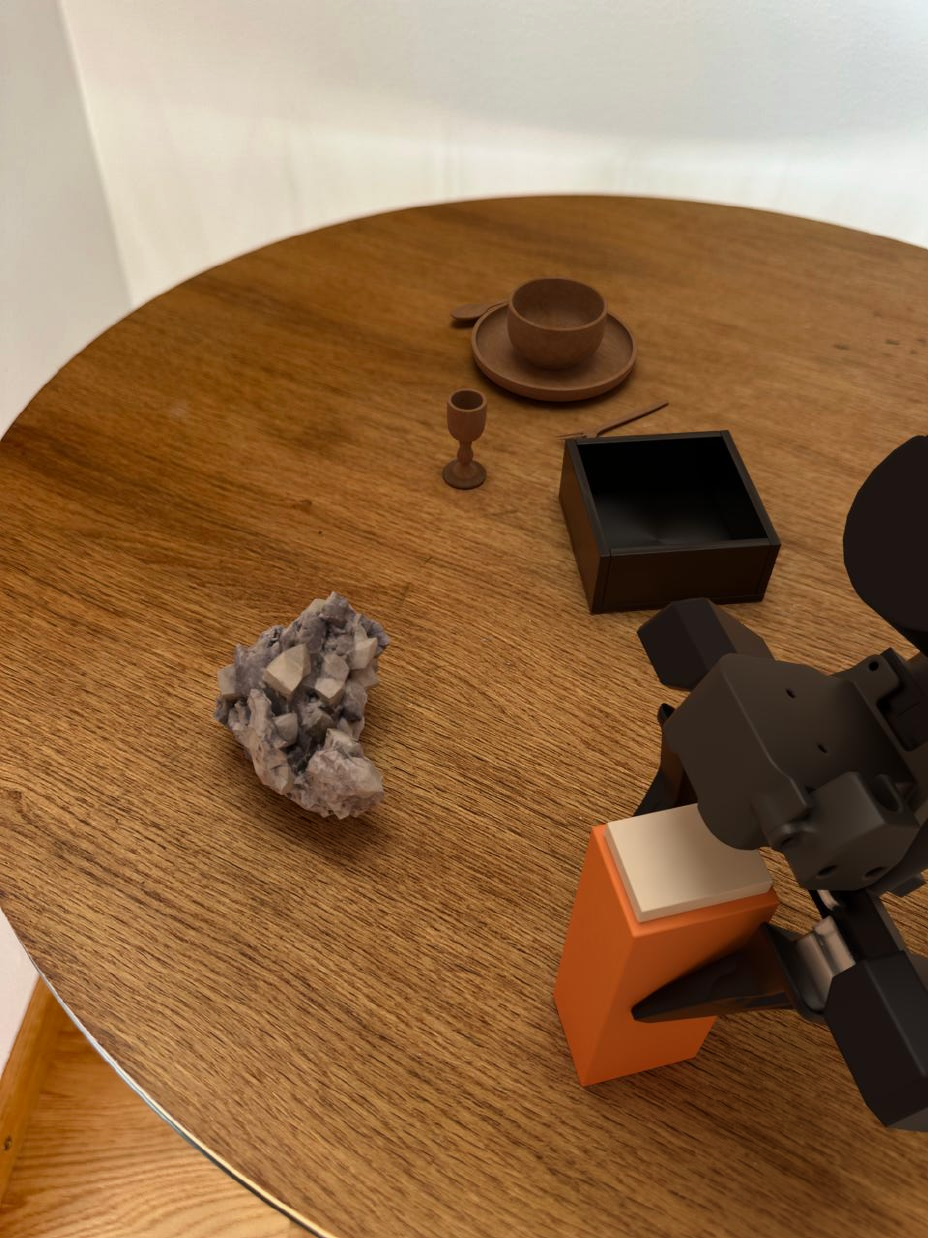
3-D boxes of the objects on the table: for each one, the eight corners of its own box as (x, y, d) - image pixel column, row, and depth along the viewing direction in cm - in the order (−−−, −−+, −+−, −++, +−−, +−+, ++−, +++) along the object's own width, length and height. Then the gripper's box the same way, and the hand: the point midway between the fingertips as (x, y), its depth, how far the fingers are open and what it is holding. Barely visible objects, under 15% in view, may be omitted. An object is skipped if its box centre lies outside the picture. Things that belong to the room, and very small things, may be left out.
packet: (660, 967, 47) (736, 783, 36) (695, 1057, 45) (788, 890, 33) (551, 994, 46) (594, 813, 35) (581, 1088, 44) (637, 926, 32)
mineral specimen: (396, 840, 47) (329, 627, 44) (206, 868, 49) (132, 668, 47) (450, 725, 58) (399, 551, 56) (294, 753, 61) (238, 586, 58)
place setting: (697, 397, 76) (714, 323, 71) (463, 499, 68) (466, 424, 63) (545, 284, 85) (551, 214, 81) (324, 363, 77) (318, 289, 73)
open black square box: (713, 486, 69) (728, 429, 66) (762, 601, 63) (782, 544, 59) (558, 496, 68) (565, 438, 65) (590, 614, 61) (600, 556, 58)
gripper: (741, 412, 34) (406, 690, 40) (1117, 950, 22) (559, 1232, 28) (883, 551, 42) (582, 770, 48) (1225, 1014, 30) (763, 1227, 36)
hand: (614, 953), depth 40 cm, fingers open, 5 cm apart
